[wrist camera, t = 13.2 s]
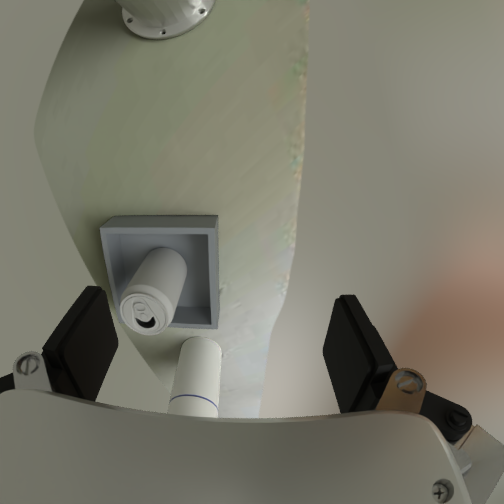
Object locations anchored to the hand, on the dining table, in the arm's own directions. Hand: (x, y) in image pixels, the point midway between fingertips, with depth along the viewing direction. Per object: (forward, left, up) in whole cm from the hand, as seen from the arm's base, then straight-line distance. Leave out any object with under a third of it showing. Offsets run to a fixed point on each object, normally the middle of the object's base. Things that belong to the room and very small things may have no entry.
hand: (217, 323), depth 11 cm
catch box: (+12, -10, -28) cm, 32 cm away
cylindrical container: (+29, -6, -28) cm, 41 cm away
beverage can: (+12, -10, -27) cm, 31 cm away
